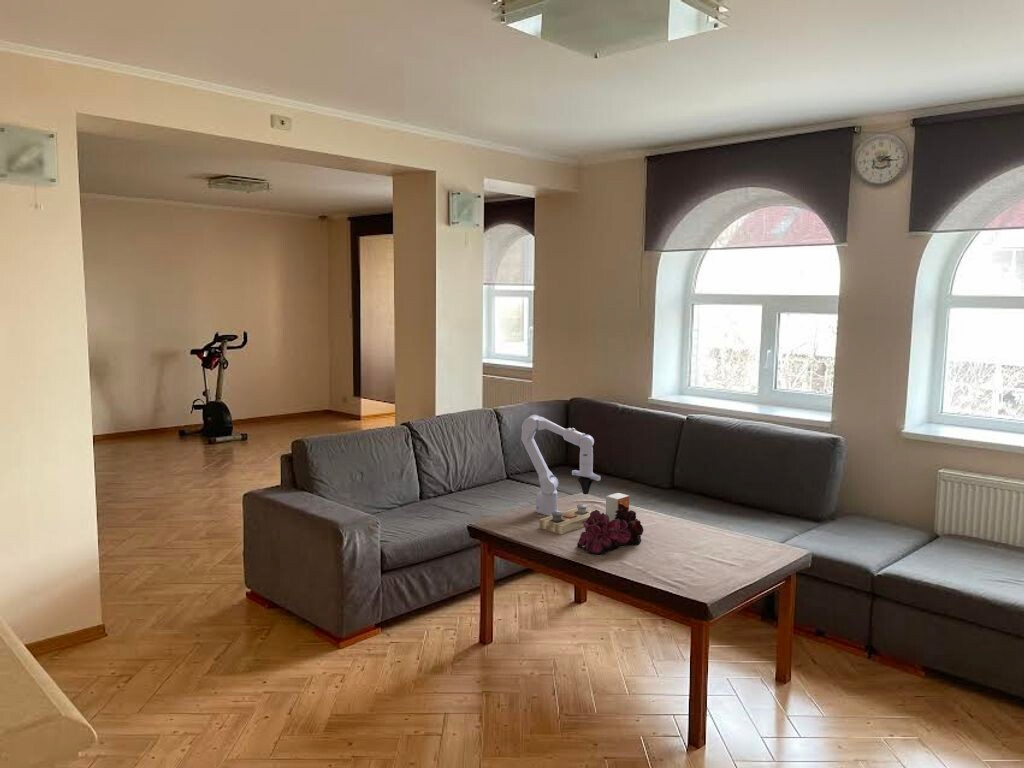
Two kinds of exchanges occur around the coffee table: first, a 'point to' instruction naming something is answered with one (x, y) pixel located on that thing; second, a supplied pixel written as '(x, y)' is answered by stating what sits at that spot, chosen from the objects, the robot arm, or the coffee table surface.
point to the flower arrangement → (610, 531)
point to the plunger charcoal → (557, 517)
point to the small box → (615, 504)
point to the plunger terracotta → (569, 515)
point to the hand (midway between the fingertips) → (585, 493)
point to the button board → (565, 522)
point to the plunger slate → (581, 509)
